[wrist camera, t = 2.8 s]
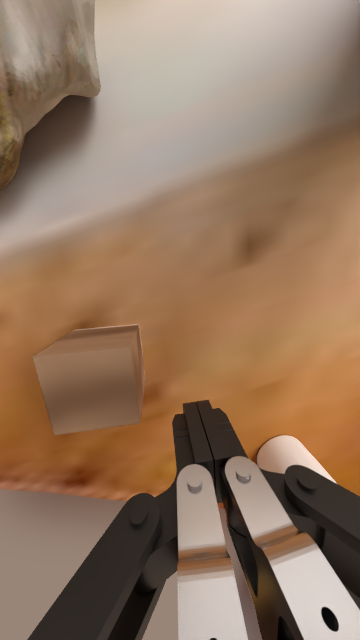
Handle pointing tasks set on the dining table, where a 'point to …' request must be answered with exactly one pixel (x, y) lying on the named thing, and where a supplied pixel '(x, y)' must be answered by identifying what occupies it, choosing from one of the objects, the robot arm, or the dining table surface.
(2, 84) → the ceramic sculpture
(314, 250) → the dining table surface
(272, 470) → the mug
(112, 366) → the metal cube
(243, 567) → the robot arm
